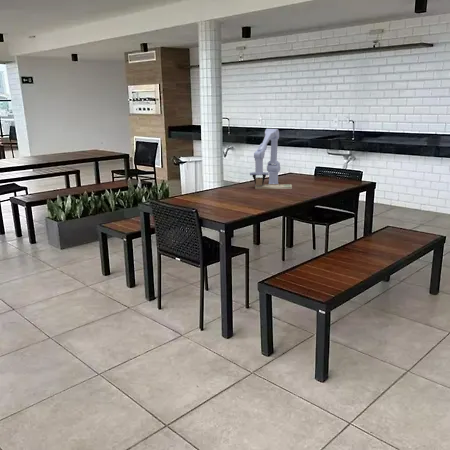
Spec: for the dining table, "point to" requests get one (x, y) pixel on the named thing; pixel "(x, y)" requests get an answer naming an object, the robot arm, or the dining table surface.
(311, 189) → the dining table surface
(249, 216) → the dining table surface
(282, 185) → the birch board
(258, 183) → the eraser block
